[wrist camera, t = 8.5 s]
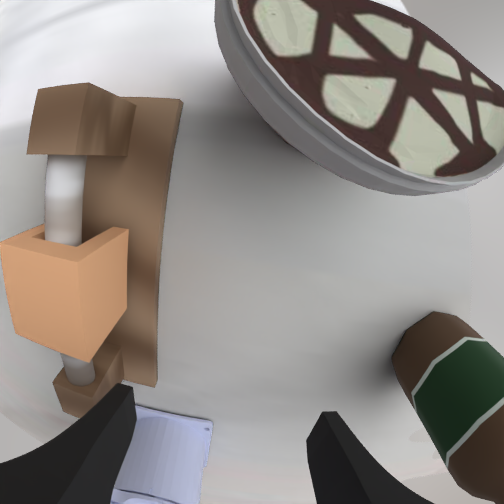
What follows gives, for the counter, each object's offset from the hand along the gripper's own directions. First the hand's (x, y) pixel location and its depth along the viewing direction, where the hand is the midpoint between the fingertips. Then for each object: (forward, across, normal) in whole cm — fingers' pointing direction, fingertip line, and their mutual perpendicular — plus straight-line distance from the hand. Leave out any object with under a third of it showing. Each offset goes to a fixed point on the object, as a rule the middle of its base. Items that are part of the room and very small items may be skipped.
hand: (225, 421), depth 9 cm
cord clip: (+7, +9, -2) cm, 12 cm away
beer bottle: (+10, -17, +2) cm, 20 cm away
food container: (+10, -3, -12) cm, 16 cm away
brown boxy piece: (+9, +9, -2) cm, 13 cm away
